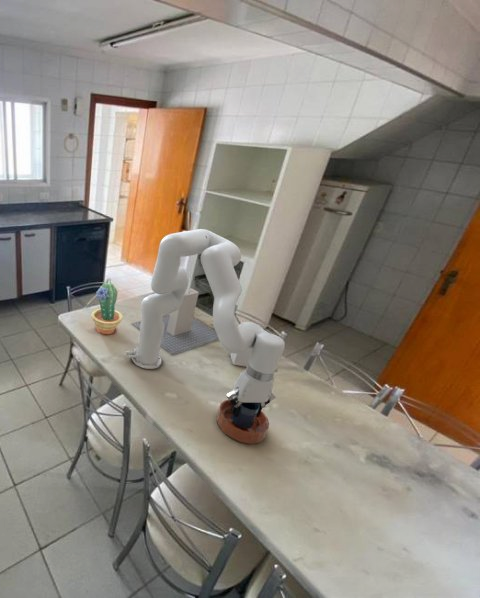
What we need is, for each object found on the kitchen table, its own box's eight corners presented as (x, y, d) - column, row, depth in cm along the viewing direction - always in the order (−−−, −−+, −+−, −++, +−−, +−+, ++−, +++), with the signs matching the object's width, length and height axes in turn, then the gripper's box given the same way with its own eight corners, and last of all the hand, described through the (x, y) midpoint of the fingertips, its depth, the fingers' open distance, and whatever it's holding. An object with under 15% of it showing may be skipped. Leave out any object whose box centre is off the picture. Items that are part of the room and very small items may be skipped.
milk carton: (250, 367, 141) (263, 330, 133) (233, 365, 142) (245, 327, 134) (246, 358, 147) (258, 321, 139) (229, 355, 148) (241, 319, 140)
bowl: (228, 445, 104) (232, 433, 102) (209, 409, 118) (212, 398, 116) (273, 444, 105) (278, 433, 103) (249, 409, 119) (253, 399, 116)
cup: (236, 428, 107) (243, 410, 103) (227, 412, 113) (233, 395, 109) (256, 428, 107) (264, 410, 104) (246, 412, 113) (253, 395, 110)
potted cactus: (86, 323, 168) (89, 278, 157) (114, 320, 172) (118, 276, 161) (96, 339, 155) (100, 291, 144) (126, 335, 159) (132, 289, 148)
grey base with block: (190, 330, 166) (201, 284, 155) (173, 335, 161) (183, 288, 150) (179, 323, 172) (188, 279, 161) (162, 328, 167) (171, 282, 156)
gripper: (279, 363, 105) (263, 405, 113) (227, 363, 104) (214, 405, 112) (294, 379, 98) (275, 422, 106) (238, 379, 97) (223, 422, 105)
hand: (244, 413), depth 109 cm, fingers closed on cup, 6 cm apart
